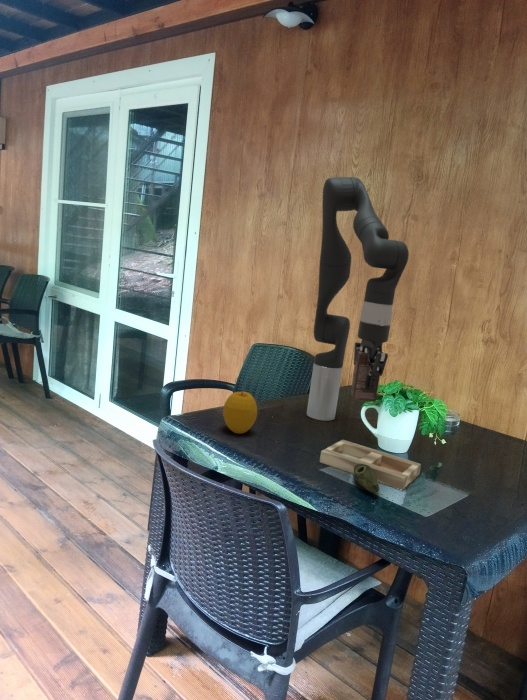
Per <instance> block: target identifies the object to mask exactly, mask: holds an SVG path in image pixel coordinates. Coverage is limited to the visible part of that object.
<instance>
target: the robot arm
mask: <svg viewBox="0 0 527 700" xmlns="http://www.w3.org/2000/svg"><path fill="white" fill-rule="evenodd" d="M321 205H322V233H321V246H320V255H319V269H318V271H319V272H318V288H317V289H318V292H317V301H316V302H317V303H316V311H315V318H314V323H313V338H314V340H315V341H316V342H318V343H323V344H328V345H333V346H335V347H334V348H333V349H331V350H329V351H325V352H324V351H323V352H319V353H317V354H314V355H315V356H314V360H313V367H312V374H311V380H310V386H309V387H310V388H309V394H308V401H307V409H306V416H308V417H309V418H312V419H313V420H318V421H325V422H326V421H328V422H329V421H334V420H335V419H336V412H337V406H338V400H339V395H340V386H341V381H342V373H343V367H344V359H345V353H346V348H347V343H348V339H349V335H350V334H349V333H350V329H351V327H350V326H351V322H350V319H349V317H346V316H343V315H342V316H341V315H337V314H329V313H328V309H329V306H330V304H331V303H332V301H333V300H334V298H335V297H336V296H337V295H338V293H340V291H341V290H342V289H343V288H344V287H345V285H346V284H347V283H348V281H349V279H350V276H351V275H350V274H351V266H352V265H351V264H352V253H351V250H350V248H349V246H348V244H347V243H346V241H345V239H344V237H343V236H342V234H341V232H340V230H339V227H338V219H337V213H338V212H353V211H356V214H355V215H354V219H353V222H352V223H353V224H352V226H353V231H354V234H355V235H356V237H357V239H358V241H360V243H361V247H362V253H363V254H362V255H363V260H364V262H365V263H366V264H367V265H368V266H370V267H372V268H375V269H385V271H384V273H383V274H382V275H381V276H378V277H371V278H370V279H368V280H367V283H366V286H365V293H364V300H363V304H362V307H361V311H360V318H359V325H358V331H357V337H358V339H360V340H361V341H360V342H357V341H356V342H355V343H354V351H353V352H354V353H353V354H354V355H353V365H354V366H355V362H356V355H357V351H361V352H365V354H366V355H367V356H366V366H367V367H368V376H367V380H366V386H365V389H366V390H367V391H374V388H375V382H376V377H377V376H380V377H382V376H383V374H384V371H385V368H386V364H387V360H388V357H389V355H388V353H384V352H383V343H387V342H388V341H389V337H390V336H389V335H390V332H391V331H390V330H391V329H390V328H391V324H392V318H393V305H394V299H395V293H396V289H397V286H398V284H399V282H400V279H401V276H402V275H403V273H404V271H405V268H406V267H407V264H408V261H409V256H410V255H409V249H408V246H407V245H406V243H405V242H403V241H401V240H394V239H389V237H390V235H389V234H390V233H389V232H388V229H387V228H386V226H385V225H384V223H383V222H382V221H381V219H380V218H379V217H378V215H377V213H376V211H375V208H374V207H373V204H372V201H371V199H370V196H369V194H368V191H367V189H366V187H365V185H364V182H363V181H362V180H361V179H360V178H359V177H353V176H343V177H342V176H341V177H340V176H339V177H335V176H334V177H329V178H326V179H325V182H324V184H323V188H322V204H321ZM370 362H374V363H370ZM372 367H373V368H372ZM379 367H380V369H379Z"/></svg>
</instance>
